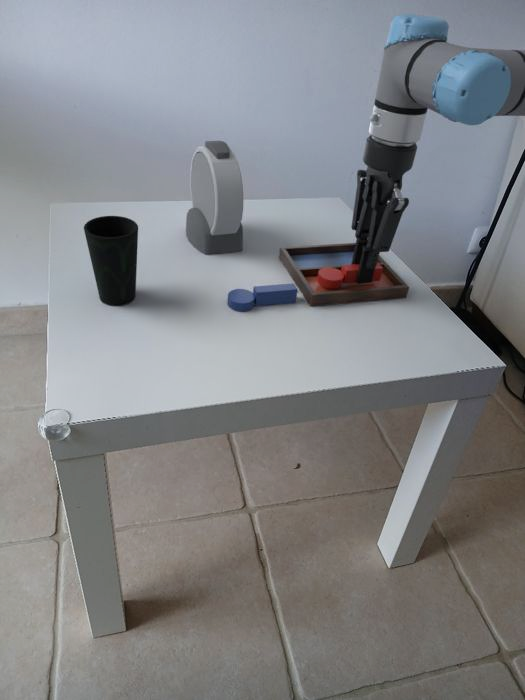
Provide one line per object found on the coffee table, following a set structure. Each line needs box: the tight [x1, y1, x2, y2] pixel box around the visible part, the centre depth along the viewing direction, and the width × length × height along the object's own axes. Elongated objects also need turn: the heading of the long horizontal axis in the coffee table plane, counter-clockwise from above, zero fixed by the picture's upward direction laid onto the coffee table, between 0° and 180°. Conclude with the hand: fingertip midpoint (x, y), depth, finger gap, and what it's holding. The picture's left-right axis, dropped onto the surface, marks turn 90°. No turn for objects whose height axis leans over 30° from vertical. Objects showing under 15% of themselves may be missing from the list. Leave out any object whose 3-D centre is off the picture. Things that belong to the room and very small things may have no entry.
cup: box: [83, 215, 139, 307], centre depth 80 cm, size 8×8×12 cm
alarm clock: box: [185, 140, 245, 256], centre depth 98 cm, size 16×10×18 cm, turn 23°
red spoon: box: [317, 263, 383, 288], centre depth 91 cm, size 11×4×3 cm, turn 106°
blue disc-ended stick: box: [226, 282, 299, 312], centre depth 86 cm, size 11×4×3 cm, turn 106°
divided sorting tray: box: [278, 242, 410, 307], centre depth 95 cm, size 18×17×2 cm
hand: (360, 277), depth 92 cm, fingers closed on red spoon, 2 cm apart
